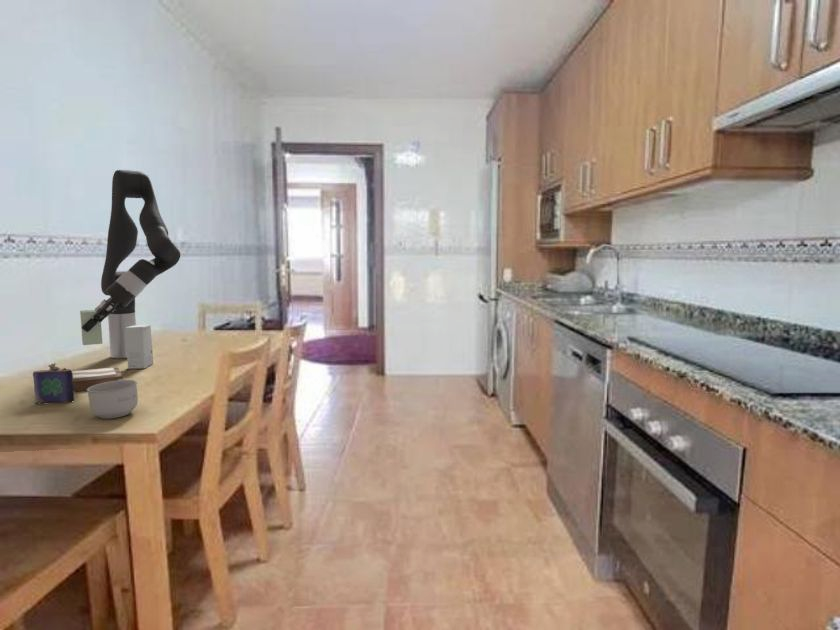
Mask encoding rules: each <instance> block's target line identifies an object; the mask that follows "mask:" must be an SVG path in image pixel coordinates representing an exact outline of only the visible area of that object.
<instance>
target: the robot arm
mask: <svg viewBox="0 0 840 630" xmlns="http://www.w3.org/2000/svg"><path fill="white" fill-rule="evenodd" d="M111 181H112V182H111V207H110V208H111V209H110V218H109V225H108V231H107V241H106V242H107V243H106V254H105V260H104V265H103V270H102V274H101V281H100V288H101V292H102V293H103V294H104V295H105V296H109V297H108V298H107V299H103V300H101V302H100V304H99V305H97V306H96V307H95V308H94V310H96V311H95V312H96V313H95V314H94V315H93V316H92V317H91V319H90V320H88V321H87V322H86V323H85V324H84V325H83V326H82V329H83V330H85V331H86V332H89V331H90V330H91V329H92V328H93V327H94V326H95V325H96V324H97V323H100V322H101V323H102V322H103V321H104V320H105V319H106V318H107V320H108V336H109V337H108V338H109V351H110V352H109V354H110V358H111V359H127V347H126V333H125V328H126V327H129V326H134V325H137V321H136V298H137V297H138V296H139V295H140V294H141V293H142V292H143V291H144V289H145V288H146V287H147V286H148V285H149V284H150V283H151V282H152V281H153V280H154V279H155V278H156V277H157V276H159V275H161V274H163V273H165V272H166V271H168V270H170V269H172V268H173V267H174V266H176V265H177V263H178V262H179V261H180V259H181V252H180V250H179V249H178V247H176V245H175V244H174V243H173V242H172V240H171V238H170V237H169V231H168V228H167V225H166V223H165V222H164V219H163V217H162V216H161V214H160V210H159V206H158V202H157V198H156V195H155V191H154V188H153V185H152V181H151V179H150V177H149V175H148V174H147V173H146V172H143V171H140V170H138V171H137V170H129V169H117V170H115V171H114V172H113V176H112V180H111ZM126 198H128V199H142V200H143V203H144V204H143V207H142V209H141V211H140V213H139V216H138V217H139V219H138V220H139V225H140V227H141V229H142V232H143V234H144V236H145V239H146V243H147V247H148V250H149V251H150V253H151V254H152V255H153V257H154V258H152V259H150V260H147V259H144V258H142V259H139V260H138V261H136V262H135V263H134V264H133V265H132V266H131V267H130V268H129V269H128V270H125V271H118V268H119V267H120V265H121V264H122V262H124V261H125V260H126V259H127V258H128V257H129V256H130V255H131V253H133V251H134V250H135V249H136V247H137V242H138V241H137V240H138V236H139V235H138V234H139V231H138V226H137V225H136V223H135V222H134V220H133V218H132V217H131V215H130V214H129V212H128V210H127V208H126ZM98 315H101V317H99V316H98Z"/></svg>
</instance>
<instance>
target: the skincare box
mask: <svg viewBox="0 0 840 630" xmlns="http://www.w3.org/2000/svg"><path fill="white" fill-rule="evenodd" d="M125 333H126V347H127V358H126V360H127V368H128V369H138V370H139V369H146V368H148V367H150V366H152V365H154V354H153V343H152V342H153V341H152V338H153V337H152V327H151V324H138V325H137V324H136V325H134V326H129V327H126V328H125Z"/></svg>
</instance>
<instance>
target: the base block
mask: <svg viewBox="0 0 840 630" xmlns="http://www.w3.org/2000/svg"><path fill="white" fill-rule="evenodd" d="M71 371H72V370H71ZM119 379H124V377H123V374H122V373H121V371H120V369H119V367H113V366H111V367H102V368H94V369H93V368H91V369H84V370H73V371H72V381H73V391H75V392H81V391H82V390H83V391H87V389H88V388H89V387H91V386H93V385H96V384H100V383H103V382H109V381H116V380H119Z"/></svg>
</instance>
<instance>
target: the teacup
mask: <svg viewBox="0 0 840 630" xmlns="http://www.w3.org/2000/svg"><path fill="white" fill-rule="evenodd" d="M137 384H138V382H137V381H136V380H133V379H124V378H123V379H119V380H116V381H109V382H103V383H100V384H96V385H93V386H91V387H89V388H88V389H87V390H86V392H87V397H88V401H89V402H88V403H89V407H90V411H91V412H92V414H94V415H95V416H97V417H99V418H101V419H107V420H109V419H110V420H111V419H118V418H121V417H124V416H127V415H130V414H131V413H132V411H134V410H135V409H136V407H137V405H138V402H139V396H138V385H137Z"/></svg>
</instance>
